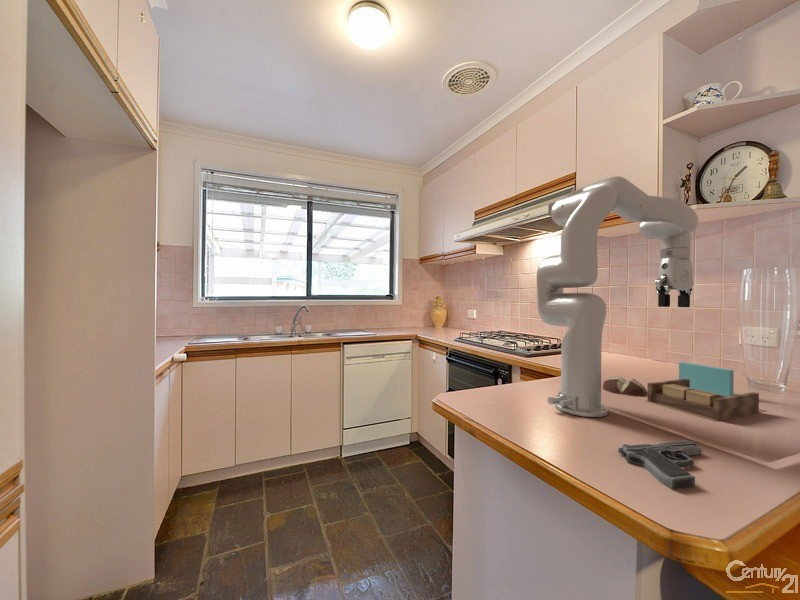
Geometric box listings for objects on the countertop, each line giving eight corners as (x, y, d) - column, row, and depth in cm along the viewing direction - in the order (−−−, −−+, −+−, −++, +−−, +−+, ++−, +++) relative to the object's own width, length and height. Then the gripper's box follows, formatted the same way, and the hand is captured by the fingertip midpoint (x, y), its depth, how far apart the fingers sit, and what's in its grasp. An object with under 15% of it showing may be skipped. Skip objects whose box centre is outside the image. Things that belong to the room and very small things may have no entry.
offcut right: (709, 416, 80) (709, 395, 80) (686, 409, 85) (686, 390, 85) (719, 414, 82) (719, 394, 82) (695, 407, 86) (695, 389, 86)
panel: (678, 389, 108) (729, 401, 96) (678, 362, 108) (729, 370, 96) (682, 388, 109) (733, 400, 96) (682, 362, 109) (733, 370, 96)
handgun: (757, 467, 54) (682, 436, 66) (671, 477, 51) (609, 442, 63) (756, 482, 54) (681, 448, 66) (671, 493, 51) (608, 455, 63)
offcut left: (683, 408, 85) (683, 389, 85) (662, 402, 90) (662, 385, 90) (692, 407, 87) (693, 388, 87) (671, 401, 92) (672, 383, 91)
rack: (715, 425, 77) (716, 400, 77) (645, 404, 92) (645, 383, 92) (767, 414, 84) (767, 391, 84) (694, 397, 99) (694, 377, 99)
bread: (609, 387, 110) (609, 372, 110) (650, 395, 101) (650, 379, 101) (596, 393, 103) (596, 377, 103) (638, 402, 94) (638, 385, 94)
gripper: (670, 251, 100) (669, 306, 100) (705, 255, 106) (704, 307, 106) (644, 254, 107) (643, 306, 107) (679, 258, 113) (678, 307, 113)
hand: (673, 307), depth 106 cm, fingers open, 9 cm apart
